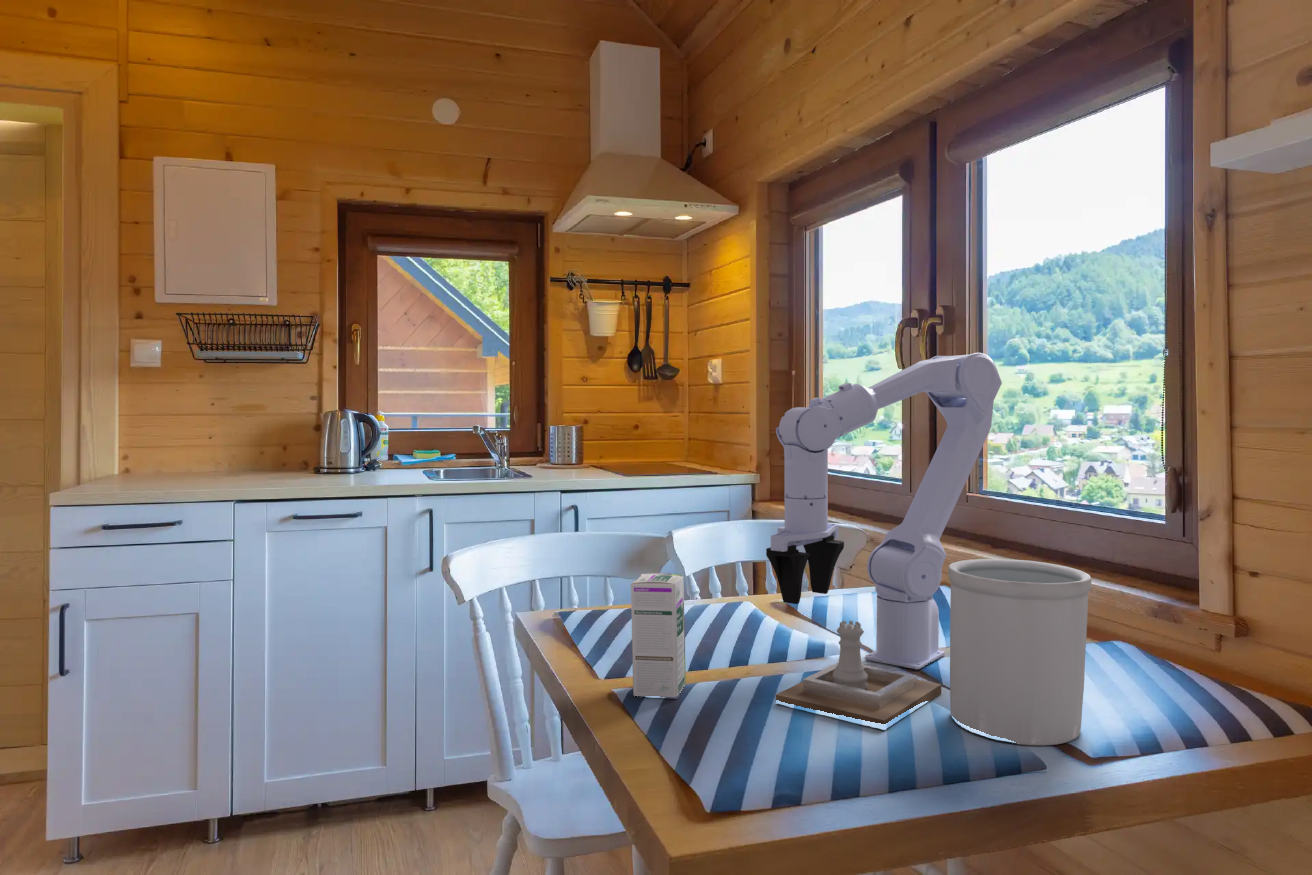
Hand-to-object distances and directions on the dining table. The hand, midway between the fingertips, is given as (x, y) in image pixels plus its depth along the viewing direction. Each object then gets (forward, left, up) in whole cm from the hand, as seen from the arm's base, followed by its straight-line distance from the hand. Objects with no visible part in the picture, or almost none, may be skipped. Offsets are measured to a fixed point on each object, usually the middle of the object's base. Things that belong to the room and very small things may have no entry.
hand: (805, 597), depth 121 cm
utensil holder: (+3, +29, -10) cm, 30 cm away
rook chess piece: (+6, +10, -9) cm, 15 cm away
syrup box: (+19, -10, -10) cm, 24 cm away
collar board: (+6, +11, -10) cm, 16 cm away
